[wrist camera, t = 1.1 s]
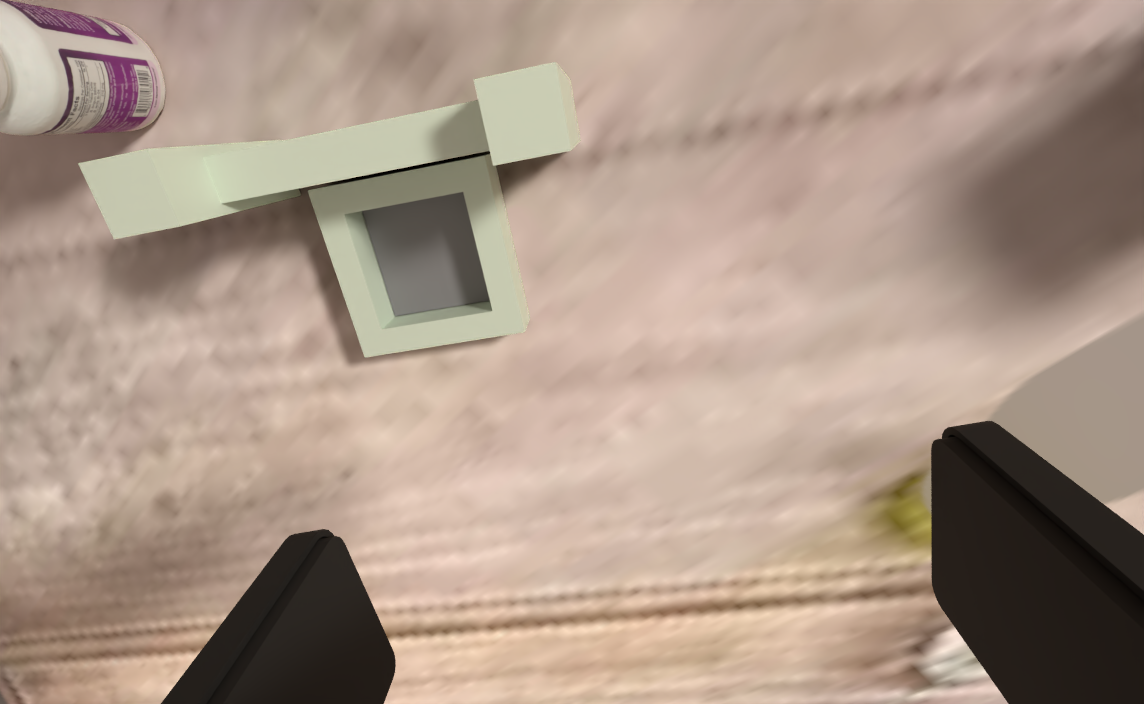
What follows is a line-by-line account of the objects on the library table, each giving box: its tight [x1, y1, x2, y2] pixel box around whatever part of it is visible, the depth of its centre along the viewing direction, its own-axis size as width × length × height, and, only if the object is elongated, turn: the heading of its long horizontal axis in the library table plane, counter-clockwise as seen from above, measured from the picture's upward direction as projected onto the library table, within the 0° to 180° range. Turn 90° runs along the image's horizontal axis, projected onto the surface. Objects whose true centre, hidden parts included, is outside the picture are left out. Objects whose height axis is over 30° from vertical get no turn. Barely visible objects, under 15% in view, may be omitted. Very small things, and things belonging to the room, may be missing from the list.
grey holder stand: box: [78, 62, 581, 358], centre depth 28 cm, size 12×19×10 cm, turn 101°
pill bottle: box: [0, 0, 166, 136], centre depth 26 cm, size 5×5×10 cm
